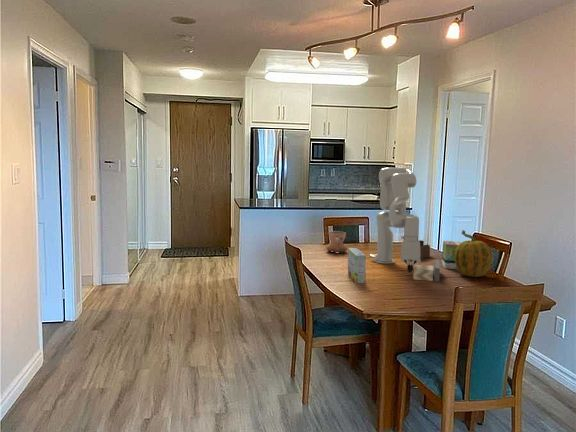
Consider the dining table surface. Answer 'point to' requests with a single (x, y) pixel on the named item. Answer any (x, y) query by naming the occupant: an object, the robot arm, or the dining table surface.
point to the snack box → (357, 265)
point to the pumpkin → (473, 257)
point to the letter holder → (424, 250)
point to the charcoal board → (436, 271)
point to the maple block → (423, 272)
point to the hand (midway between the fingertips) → (410, 272)
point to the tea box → (449, 254)
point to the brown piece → (337, 241)
